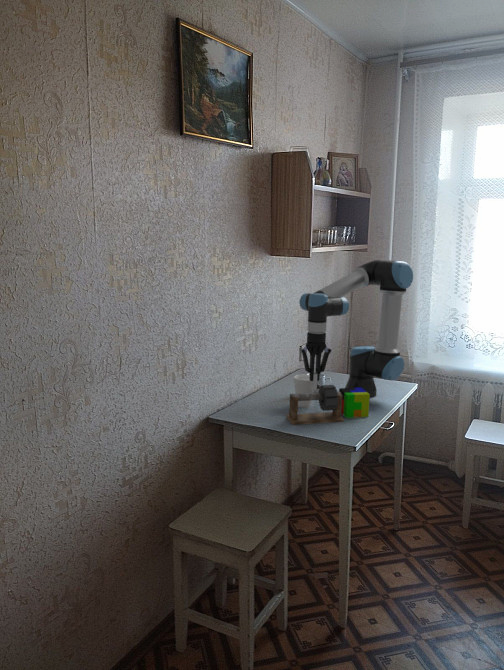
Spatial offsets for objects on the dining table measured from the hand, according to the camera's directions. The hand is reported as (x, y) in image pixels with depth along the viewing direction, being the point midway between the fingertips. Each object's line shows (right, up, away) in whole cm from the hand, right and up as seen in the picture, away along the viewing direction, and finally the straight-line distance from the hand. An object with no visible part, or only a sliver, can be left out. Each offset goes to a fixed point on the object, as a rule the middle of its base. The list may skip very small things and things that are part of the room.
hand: (313, 388), depth 224 cm
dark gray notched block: (+6, -4, +2) cm, 8 cm away
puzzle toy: (+18, -12, +12) cm, 25 cm away
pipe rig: (+1, -13, +3) cm, 14 cm away
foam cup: (-2, -10, +21) cm, 24 cm away
